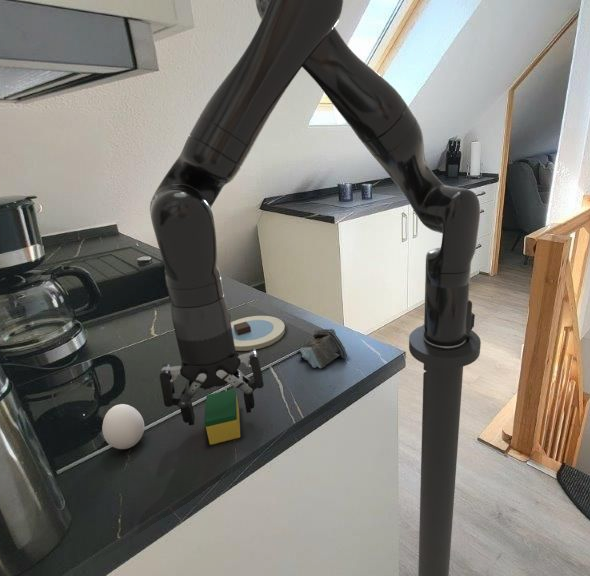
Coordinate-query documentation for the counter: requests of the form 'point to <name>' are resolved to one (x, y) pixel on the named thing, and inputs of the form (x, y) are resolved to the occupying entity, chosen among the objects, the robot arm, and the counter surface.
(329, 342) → the grey jagged block
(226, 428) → the sponge
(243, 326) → the crumb
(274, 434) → the counter surface
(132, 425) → the egg
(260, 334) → the plate
